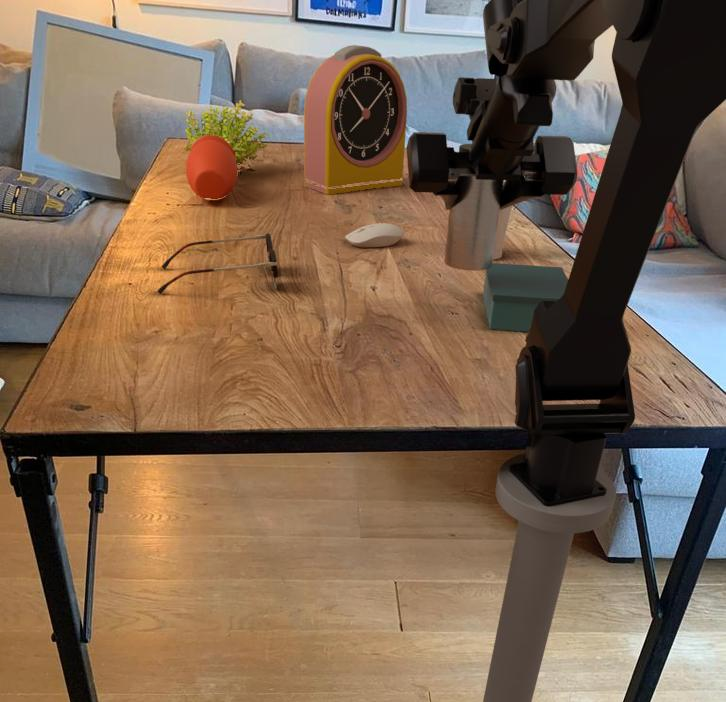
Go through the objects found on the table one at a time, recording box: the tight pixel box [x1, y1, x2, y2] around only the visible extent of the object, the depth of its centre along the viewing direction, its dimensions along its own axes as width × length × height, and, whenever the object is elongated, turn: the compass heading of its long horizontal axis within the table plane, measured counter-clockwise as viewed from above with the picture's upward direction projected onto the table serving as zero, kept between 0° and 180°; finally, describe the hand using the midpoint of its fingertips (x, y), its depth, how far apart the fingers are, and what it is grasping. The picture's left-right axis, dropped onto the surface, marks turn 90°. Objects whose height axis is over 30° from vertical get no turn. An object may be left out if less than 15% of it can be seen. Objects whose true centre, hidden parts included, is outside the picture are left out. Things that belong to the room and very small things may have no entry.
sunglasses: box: [157, 233, 279, 294], centre depth 102 cm, size 14×16×5 cm
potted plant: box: [183, 99, 269, 202], centre depth 154 cm, size 19×14×45 cm
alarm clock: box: [303, 44, 408, 195], centre depth 152 cm, size 21×9×26 cm, turn 128°
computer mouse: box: [344, 222, 405, 248], centre depth 121 cm, size 6×10×3 cm, turn 112°
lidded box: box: [482, 262, 569, 333], centre depth 95 cm, size 13×11×4 cm
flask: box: [443, 143, 504, 272], centre depth 88 cm, size 6×6×14 cm
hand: (472, 206), depth 89 cm, fingers closed on flask, 6 cm apart
